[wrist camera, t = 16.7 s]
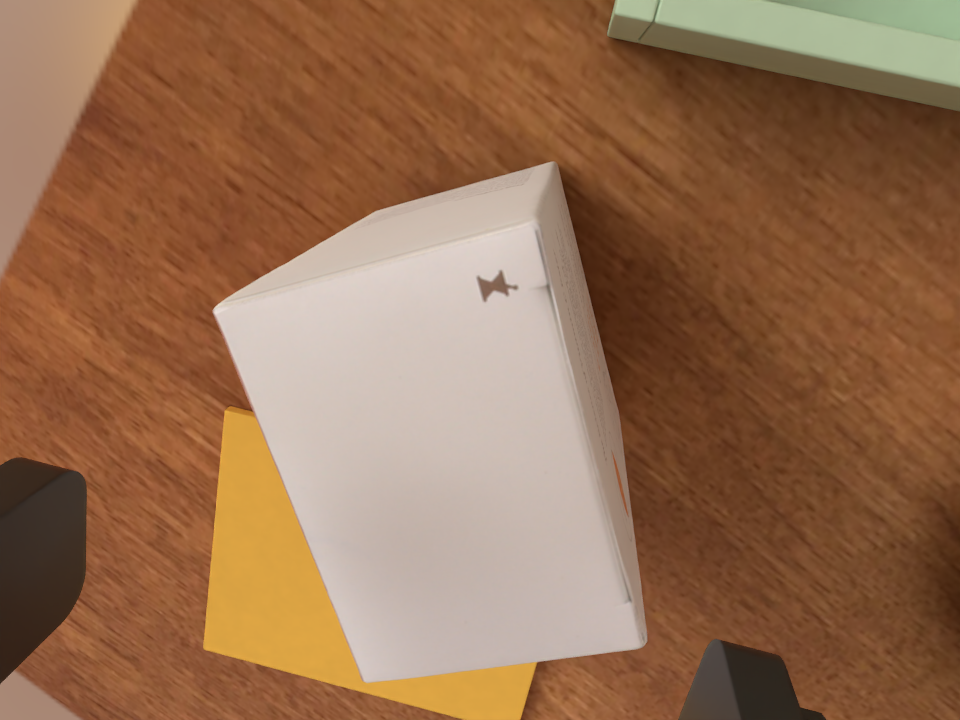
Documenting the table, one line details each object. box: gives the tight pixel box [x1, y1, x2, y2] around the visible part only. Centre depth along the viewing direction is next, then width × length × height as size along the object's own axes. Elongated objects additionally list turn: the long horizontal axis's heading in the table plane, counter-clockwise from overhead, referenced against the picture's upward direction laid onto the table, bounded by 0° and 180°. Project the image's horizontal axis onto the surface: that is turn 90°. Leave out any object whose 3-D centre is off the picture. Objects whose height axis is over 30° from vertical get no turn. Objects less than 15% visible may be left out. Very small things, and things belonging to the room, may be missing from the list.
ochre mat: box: [203, 406, 537, 720], centre depth 26 cm, size 12×10×1 cm
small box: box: [213, 161, 647, 683], centre depth 17 cm, size 8×6×10 cm
